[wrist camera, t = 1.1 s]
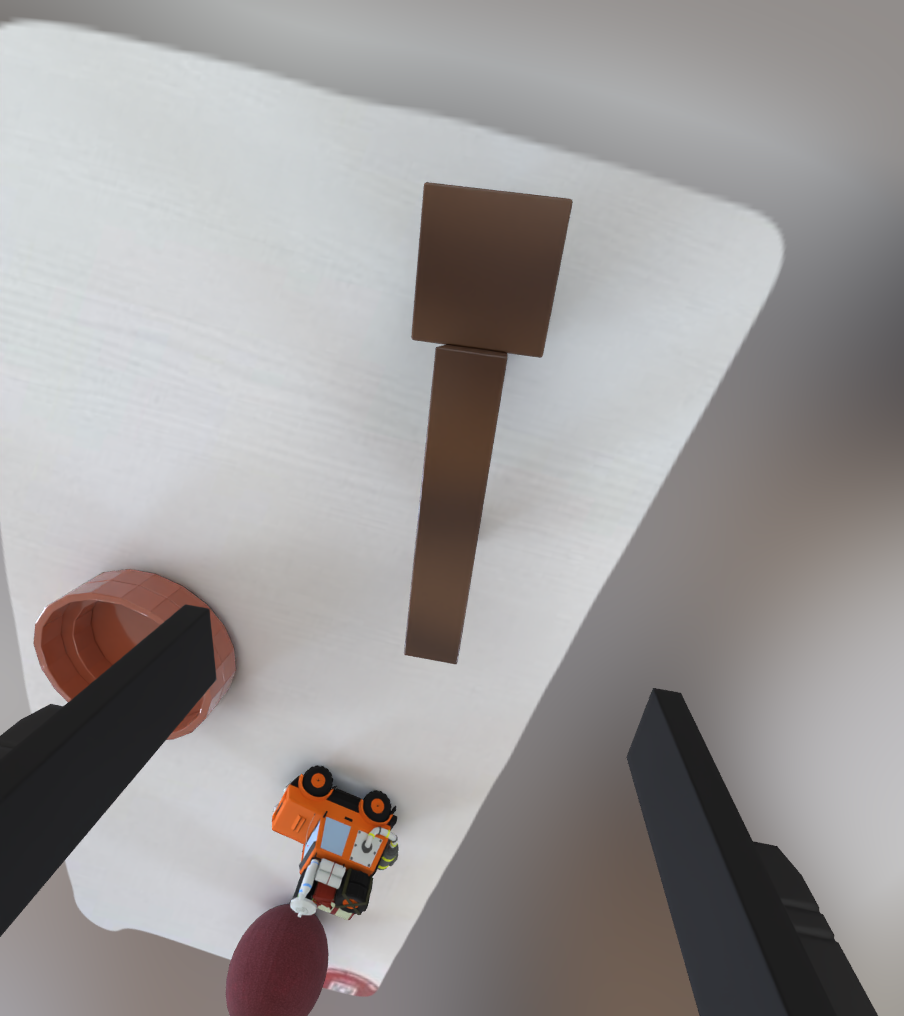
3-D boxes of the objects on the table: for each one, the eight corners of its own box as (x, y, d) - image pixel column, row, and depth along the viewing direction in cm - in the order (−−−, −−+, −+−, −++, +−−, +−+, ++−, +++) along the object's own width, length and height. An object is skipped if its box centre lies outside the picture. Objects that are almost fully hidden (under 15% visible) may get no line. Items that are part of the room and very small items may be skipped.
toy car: (392, 841, 44) (366, 957, 36) (281, 795, 44) (228, 903, 35) (417, 801, 42) (395, 917, 33) (299, 752, 41) (247, 858, 33)
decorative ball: (289, 871, 48) (238, 999, 39) (358, 917, 50) (325, 1050, 41) (242, 902, 52) (185, 1026, 43) (309, 944, 54) (267, 1071, 44)
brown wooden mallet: (494, 545, 31) (486, 670, 19) (423, 533, 31) (375, 650, 20) (548, 249, 24) (584, 177, 12) (456, 237, 24) (410, 157, 13)
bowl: (64, 552, 35) (12, 578, 32) (233, 582, 34) (201, 612, 31) (97, 686, 41) (56, 722, 37) (244, 715, 40) (217, 754, 36)
